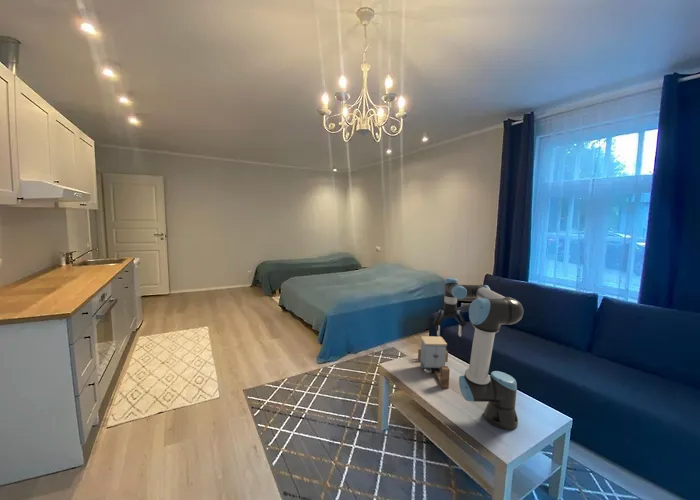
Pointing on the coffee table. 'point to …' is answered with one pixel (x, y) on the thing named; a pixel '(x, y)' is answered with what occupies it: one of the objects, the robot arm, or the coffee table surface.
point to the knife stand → (420, 355)
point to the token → (427, 370)
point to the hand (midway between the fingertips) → (448, 335)
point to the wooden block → (443, 377)
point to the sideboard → (433, 352)
